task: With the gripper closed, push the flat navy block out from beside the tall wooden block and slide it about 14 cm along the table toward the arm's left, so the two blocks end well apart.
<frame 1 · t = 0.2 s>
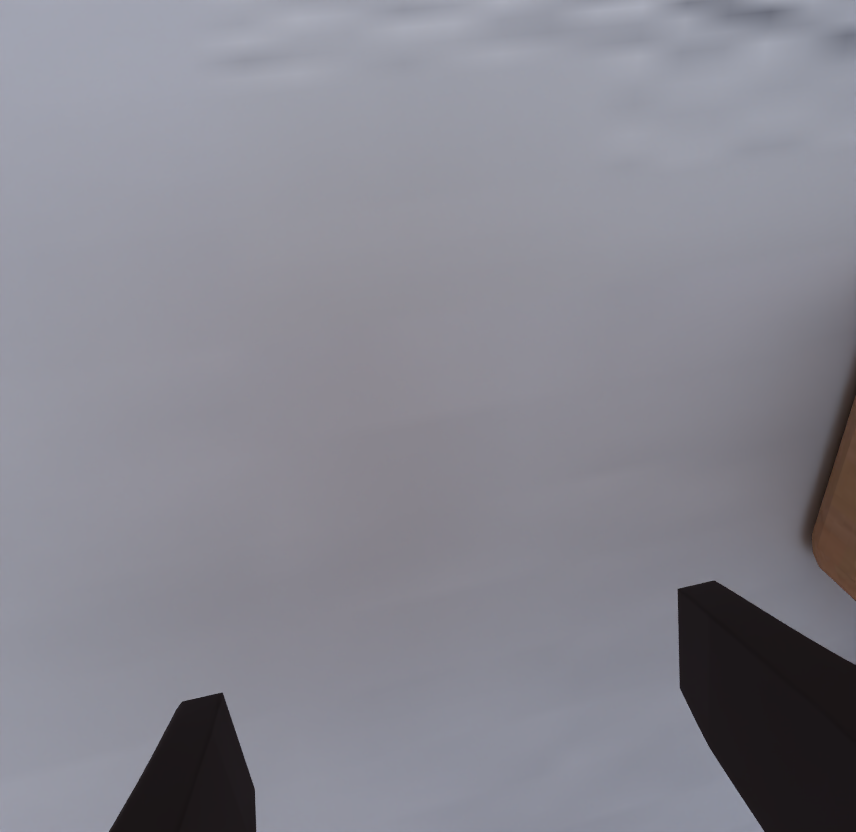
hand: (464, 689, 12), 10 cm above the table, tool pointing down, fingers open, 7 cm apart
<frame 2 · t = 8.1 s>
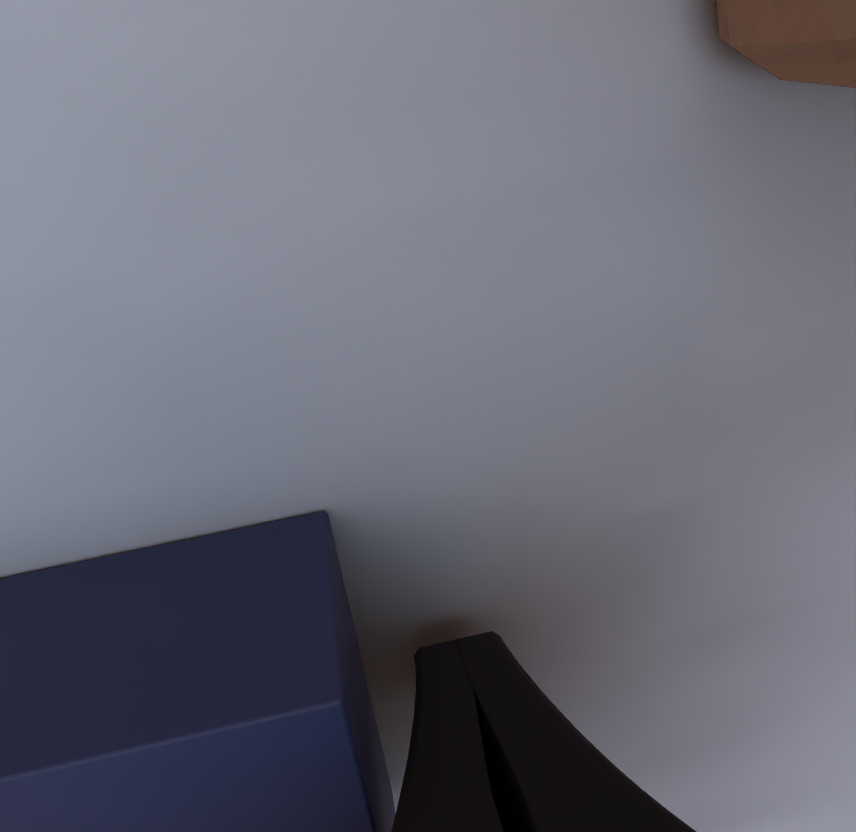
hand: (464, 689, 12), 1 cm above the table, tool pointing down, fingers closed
navy block: (179, 705, 13), on the table, touching gripper
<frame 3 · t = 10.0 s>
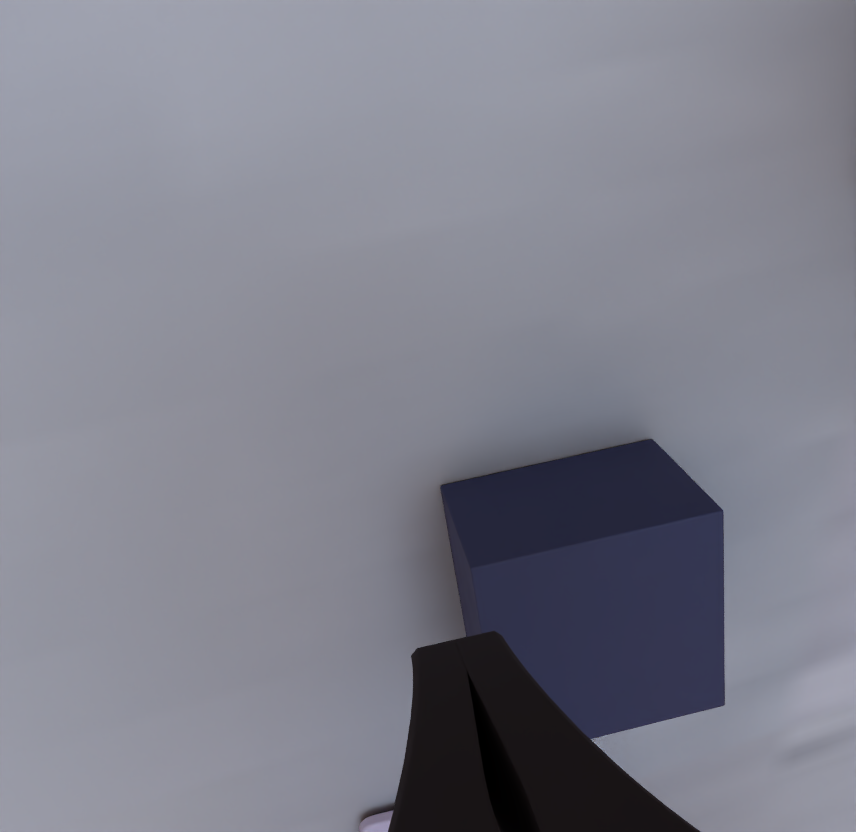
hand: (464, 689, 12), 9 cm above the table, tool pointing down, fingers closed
navy block: (557, 552, 23), on the table
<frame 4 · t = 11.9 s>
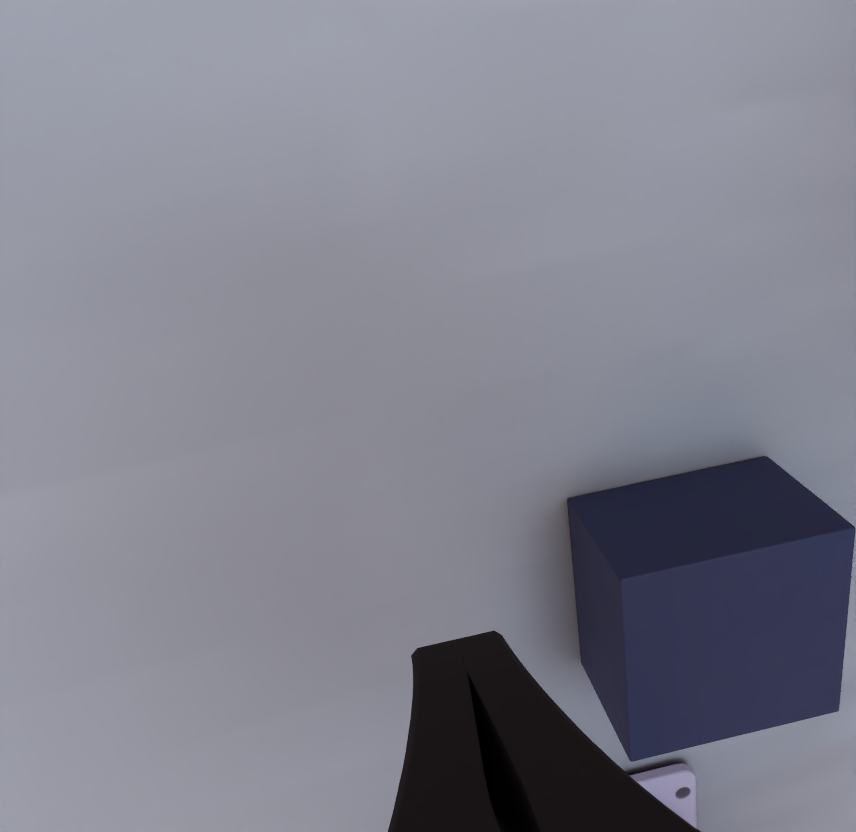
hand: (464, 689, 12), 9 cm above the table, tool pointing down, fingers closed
navy block: (670, 563, 24), on the table
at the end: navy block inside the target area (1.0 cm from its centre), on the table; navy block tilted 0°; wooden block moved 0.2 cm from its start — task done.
